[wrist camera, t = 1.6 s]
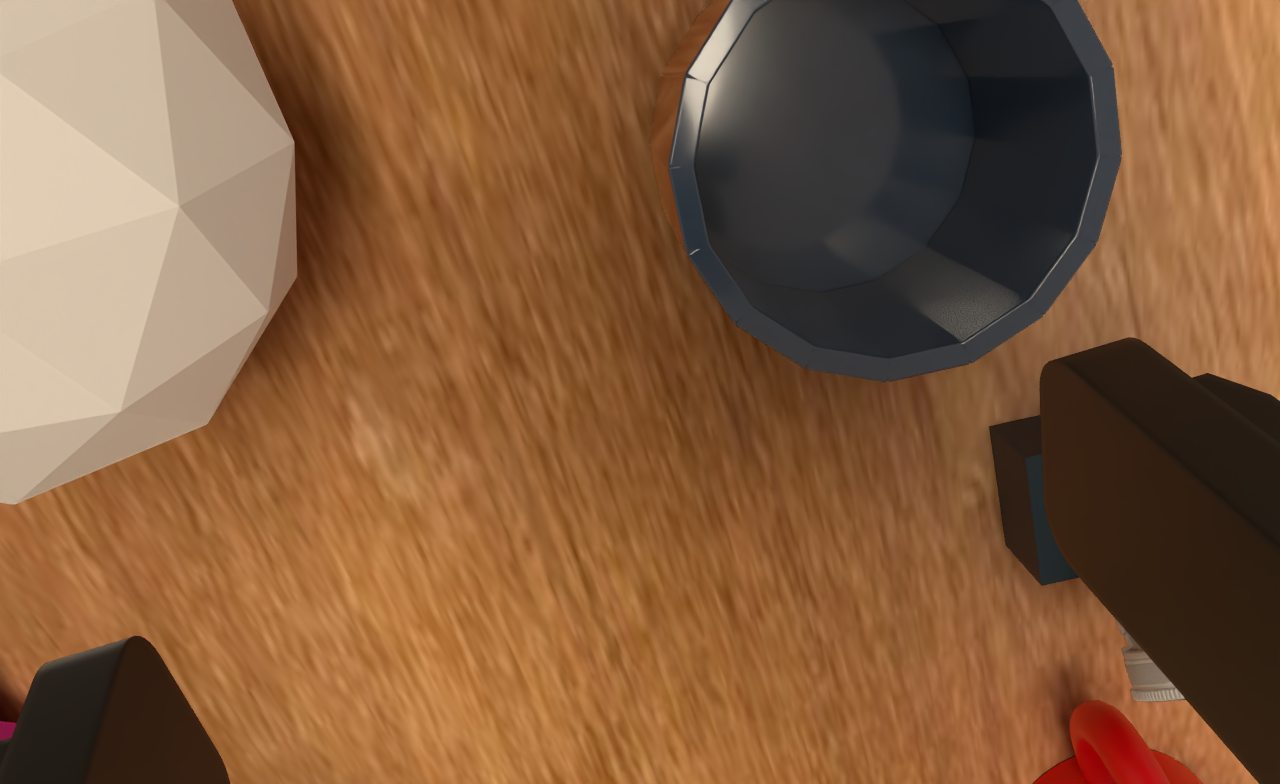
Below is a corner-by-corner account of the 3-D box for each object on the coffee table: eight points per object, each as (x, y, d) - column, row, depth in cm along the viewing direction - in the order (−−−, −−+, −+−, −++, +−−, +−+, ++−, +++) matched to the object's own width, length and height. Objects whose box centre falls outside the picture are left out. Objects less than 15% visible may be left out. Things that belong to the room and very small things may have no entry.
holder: (685, -71, 32) (720, -125, 24) (1023, -4, 33) (1177, -32, 24) (624, 275, 35) (635, 341, 26) (939, 329, 36) (1050, 410, 27)
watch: (1013, 596, 38) (1173, 794, 28) (982, 375, 36) (1143, 499, 26) (1173, 561, 38) (1396, 746, 28) (1152, 337, 36) (1386, 446, 26)
